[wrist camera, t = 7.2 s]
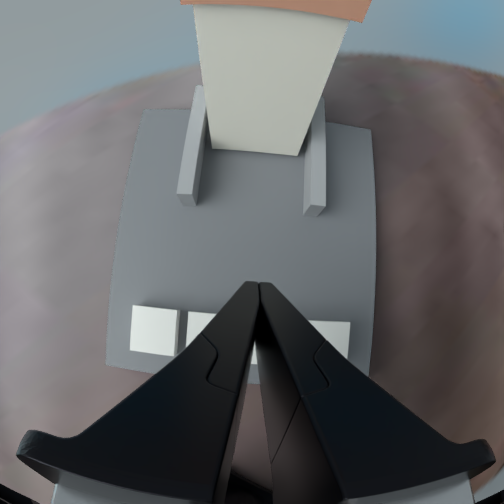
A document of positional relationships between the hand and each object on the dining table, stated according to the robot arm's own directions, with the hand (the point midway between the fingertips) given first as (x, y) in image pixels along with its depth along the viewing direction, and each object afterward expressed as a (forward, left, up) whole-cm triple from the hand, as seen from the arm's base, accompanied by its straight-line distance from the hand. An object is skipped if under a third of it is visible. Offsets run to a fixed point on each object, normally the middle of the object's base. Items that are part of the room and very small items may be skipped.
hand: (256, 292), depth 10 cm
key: (+6, -9, -7) cm, 12 cm away
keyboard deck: (+2, -3, -8) cm, 9 cm away
